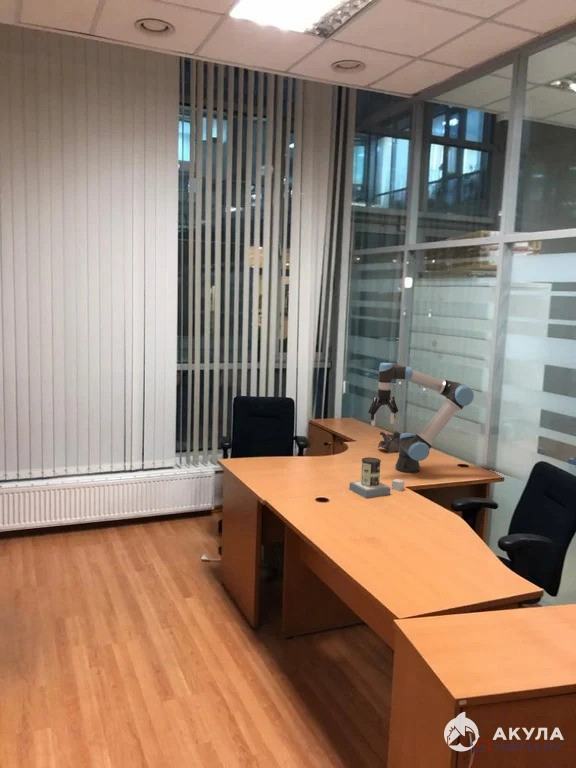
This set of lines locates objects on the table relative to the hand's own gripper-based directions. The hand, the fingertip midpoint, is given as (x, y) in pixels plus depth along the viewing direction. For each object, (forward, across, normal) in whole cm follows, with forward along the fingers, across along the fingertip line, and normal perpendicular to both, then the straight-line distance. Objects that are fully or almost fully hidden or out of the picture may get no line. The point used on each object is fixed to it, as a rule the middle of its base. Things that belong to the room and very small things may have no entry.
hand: (382, 424), depth 370 cm
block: (+32, +5, +24) cm, 40 cm away
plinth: (+32, +23, +22) cm, 45 cm away
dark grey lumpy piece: (+32, -44, -45) cm, 70 cm away
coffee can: (+28, +23, +22) cm, 42 cm away
